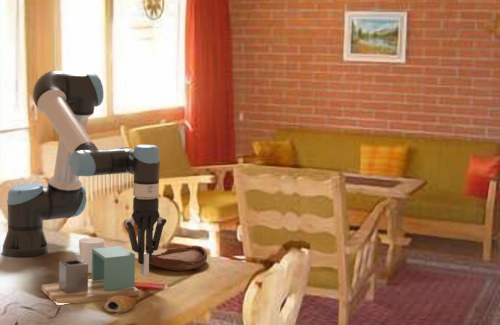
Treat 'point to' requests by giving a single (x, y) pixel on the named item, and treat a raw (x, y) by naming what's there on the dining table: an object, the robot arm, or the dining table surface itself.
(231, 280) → the dining table surface
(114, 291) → the pin board
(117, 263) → the housing cover
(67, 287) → the block
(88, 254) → the white cup
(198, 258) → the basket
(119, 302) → the pastry
